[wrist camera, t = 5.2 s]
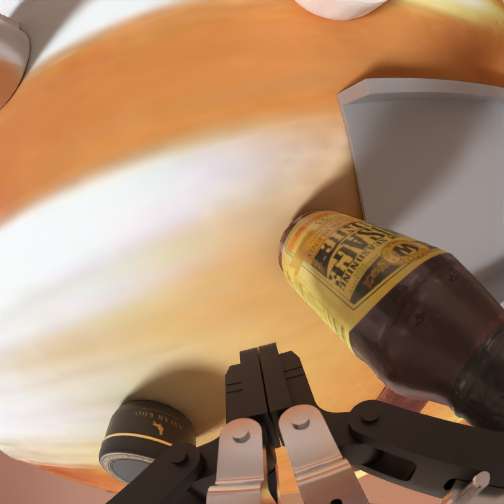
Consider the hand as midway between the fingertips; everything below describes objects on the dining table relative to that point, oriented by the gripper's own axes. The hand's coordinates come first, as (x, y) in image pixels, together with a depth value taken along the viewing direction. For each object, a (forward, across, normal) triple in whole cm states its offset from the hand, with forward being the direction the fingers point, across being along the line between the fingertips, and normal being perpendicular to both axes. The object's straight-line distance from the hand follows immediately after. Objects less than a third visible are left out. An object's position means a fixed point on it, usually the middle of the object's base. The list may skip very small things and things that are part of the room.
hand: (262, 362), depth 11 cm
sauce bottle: (+11, -5, 0) cm, 12 cm away
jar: (+11, +15, +16) cm, 25 cm away
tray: (+11, -22, 0) cm, 25 cm away
